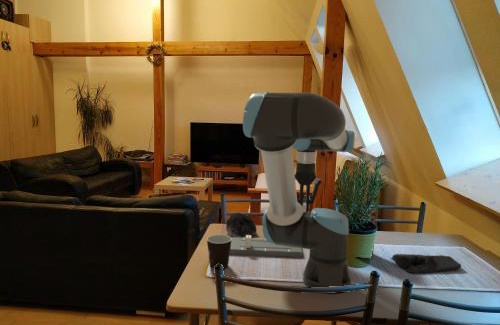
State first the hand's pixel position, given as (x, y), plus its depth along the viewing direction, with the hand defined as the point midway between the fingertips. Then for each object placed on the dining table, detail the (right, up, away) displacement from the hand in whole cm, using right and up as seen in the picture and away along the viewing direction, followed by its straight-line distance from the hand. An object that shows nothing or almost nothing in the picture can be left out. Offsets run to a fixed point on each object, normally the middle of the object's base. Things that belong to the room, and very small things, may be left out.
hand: (303, 219), depth 141 cm
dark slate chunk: (+43, -15, -13) cm, 47 cm away
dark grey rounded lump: (-26, -9, +16) cm, 32 cm away
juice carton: (+22, -13, -5) cm, 26 cm away
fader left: (-22, -10, -5) cm, 25 cm away
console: (-16, -12, -2) cm, 19 cm away
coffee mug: (-32, -13, -17) cm, 39 cm away
